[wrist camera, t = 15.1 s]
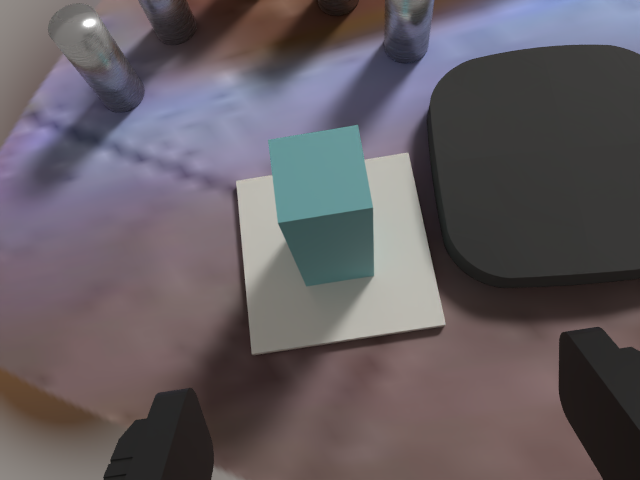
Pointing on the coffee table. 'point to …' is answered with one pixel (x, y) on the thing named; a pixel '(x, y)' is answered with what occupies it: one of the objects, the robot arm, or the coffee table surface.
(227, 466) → the coffee table surface
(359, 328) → the tile
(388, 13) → the posts
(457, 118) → the media streaming box
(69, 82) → the coffee table surface
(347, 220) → the teal block
